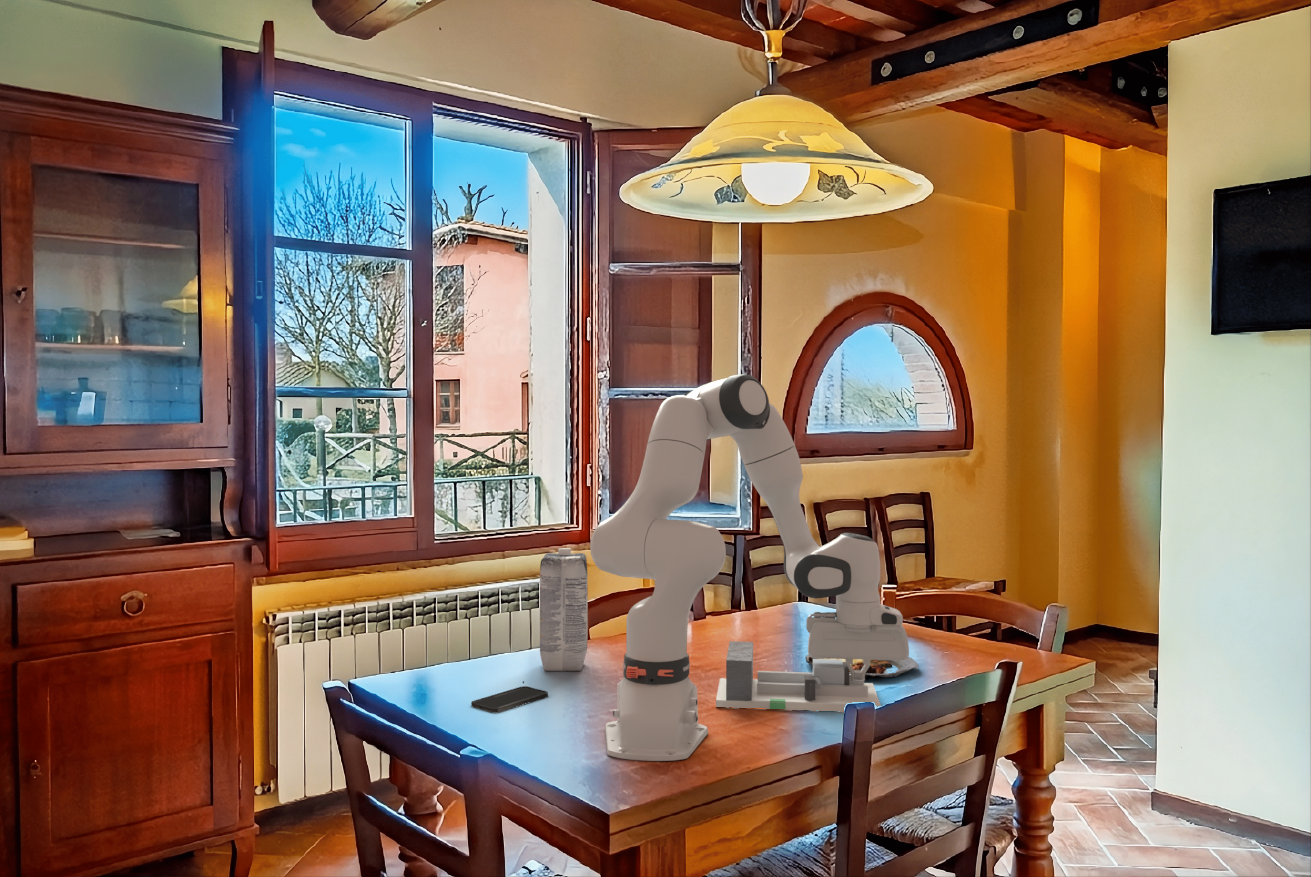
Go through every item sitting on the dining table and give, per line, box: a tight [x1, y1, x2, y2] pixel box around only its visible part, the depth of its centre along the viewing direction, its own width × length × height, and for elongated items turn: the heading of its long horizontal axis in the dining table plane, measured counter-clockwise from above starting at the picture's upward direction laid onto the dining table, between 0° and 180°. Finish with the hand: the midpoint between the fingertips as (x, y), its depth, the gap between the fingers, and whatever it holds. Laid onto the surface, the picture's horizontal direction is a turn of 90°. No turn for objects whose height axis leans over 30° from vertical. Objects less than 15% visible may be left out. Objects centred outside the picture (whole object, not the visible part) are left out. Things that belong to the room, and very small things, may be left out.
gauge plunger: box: [812, 659, 849, 689], centre depth 202 cm, size 12×7×5 cm, turn 173°
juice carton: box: [539, 547, 589, 672], centre depth 227 cm, size 9×10×27 cm
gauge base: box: [715, 670, 882, 713], centre depth 203 cm, size 16×32×4 cm, turn 83°
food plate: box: [805, 654, 920, 678], centre depth 227 cm, size 25×23×4 cm
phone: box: [470, 685, 549, 713], centre depth 201 cm, size 8×1×15 cm
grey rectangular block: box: [725, 640, 754, 701], centre depth 204 cm, size 16×5×8 cm, turn 173°
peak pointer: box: [804, 675, 815, 701], centre depth 197 cm, size 5×2×4 cm, turn 173°
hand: (857, 680), depth 204 cm, fingers closed
